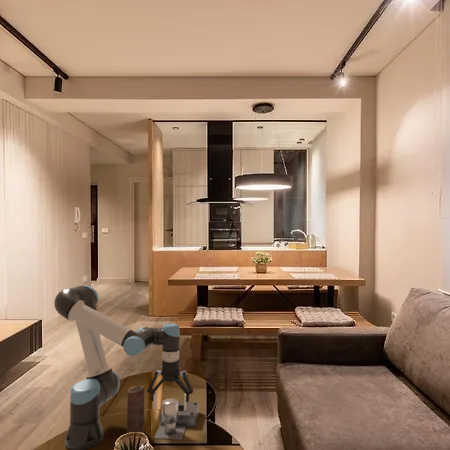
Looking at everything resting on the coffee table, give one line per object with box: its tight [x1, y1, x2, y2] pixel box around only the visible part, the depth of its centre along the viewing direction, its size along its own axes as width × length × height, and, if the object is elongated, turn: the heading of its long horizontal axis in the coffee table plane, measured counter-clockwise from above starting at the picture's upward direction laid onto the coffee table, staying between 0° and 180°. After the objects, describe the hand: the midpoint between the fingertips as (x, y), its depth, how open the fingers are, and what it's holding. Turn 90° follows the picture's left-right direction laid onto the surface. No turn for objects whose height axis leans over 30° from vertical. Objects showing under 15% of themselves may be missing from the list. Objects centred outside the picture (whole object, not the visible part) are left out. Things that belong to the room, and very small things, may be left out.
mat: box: [153, 425, 187, 441], centre depth 159 cm, size 12×10×1 cm
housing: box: [159, 401, 200, 428], centre depth 172 cm, size 16×14×6 cm
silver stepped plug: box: [161, 398, 179, 435], centre depth 159 cm, size 7×7×13 cm
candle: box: [126, 385, 145, 434], centre depth 158 cm, size 8×7×20 cm
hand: (170, 408), depth 159 cm, fingers open, 13 cm apart
